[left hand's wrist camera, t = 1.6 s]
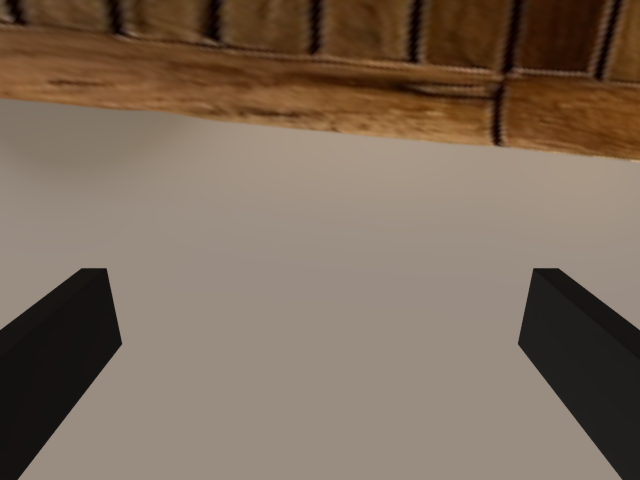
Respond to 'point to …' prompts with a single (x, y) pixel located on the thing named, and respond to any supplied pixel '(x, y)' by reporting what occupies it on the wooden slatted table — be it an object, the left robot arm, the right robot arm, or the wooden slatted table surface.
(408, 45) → the wooden slatted table surface
